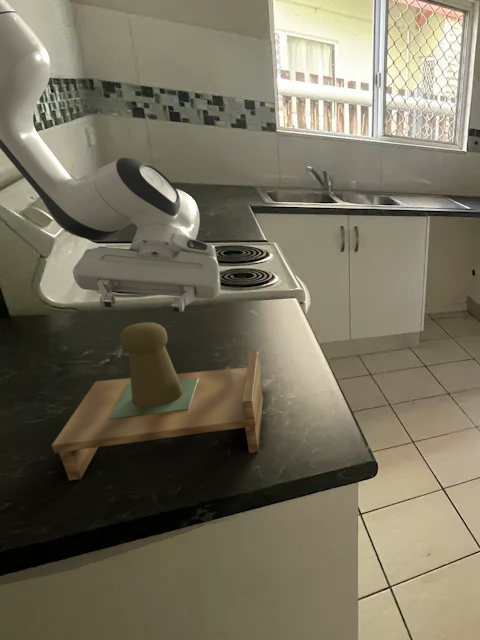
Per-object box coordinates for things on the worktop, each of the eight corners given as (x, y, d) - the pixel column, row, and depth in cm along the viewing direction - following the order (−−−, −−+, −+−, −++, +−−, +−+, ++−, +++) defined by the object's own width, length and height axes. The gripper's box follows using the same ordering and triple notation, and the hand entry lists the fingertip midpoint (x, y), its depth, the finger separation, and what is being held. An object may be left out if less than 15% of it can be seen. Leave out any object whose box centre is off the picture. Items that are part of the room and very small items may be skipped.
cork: (136, 388, 69) (117, 319, 65) (185, 382, 72) (170, 315, 68) (128, 410, 65) (108, 337, 60) (181, 402, 67) (165, 332, 63)
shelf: (65, 483, 60) (43, 424, 56) (105, 414, 73) (90, 363, 69) (259, 453, 68) (251, 400, 65) (264, 396, 82) (258, 350, 78)
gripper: (83, 231, 79) (53, 286, 71) (224, 247, 88) (213, 297, 79) (92, 260, 83) (65, 315, 75) (226, 273, 92) (215, 324, 83)
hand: (142, 306), depth 77 cm, fingers open, 8 cm apart
